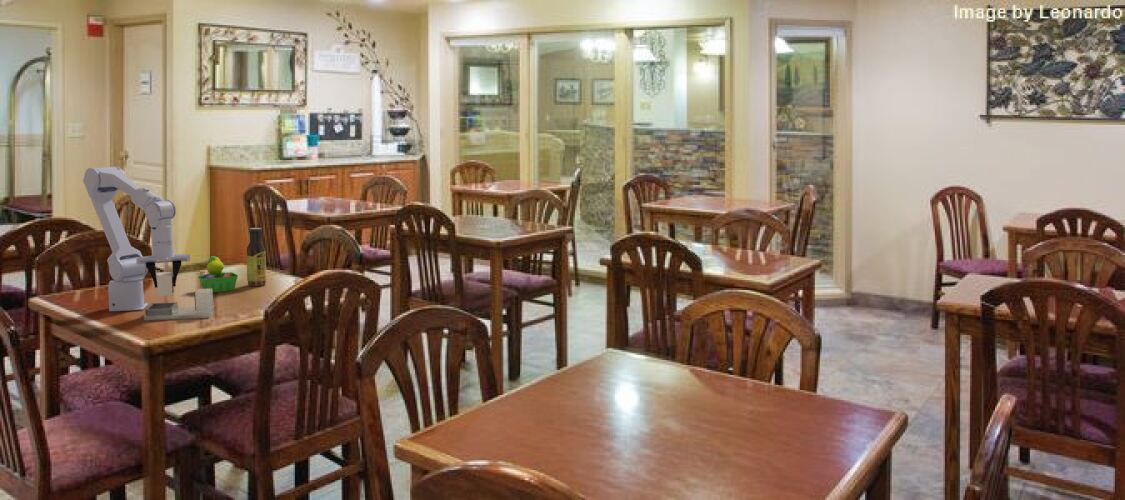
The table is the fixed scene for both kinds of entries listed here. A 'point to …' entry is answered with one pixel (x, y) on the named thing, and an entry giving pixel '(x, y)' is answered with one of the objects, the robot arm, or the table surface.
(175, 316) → the grey boxy piece
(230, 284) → the fruit basket
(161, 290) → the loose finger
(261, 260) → the sauce bottle
